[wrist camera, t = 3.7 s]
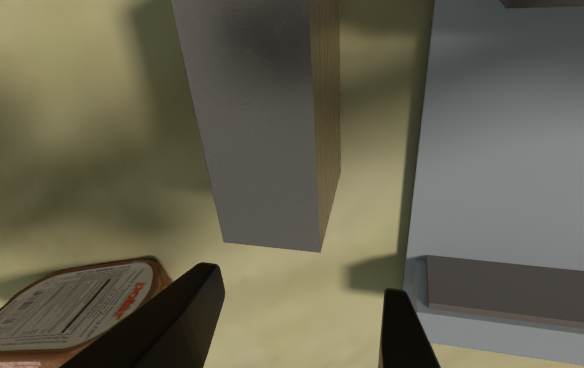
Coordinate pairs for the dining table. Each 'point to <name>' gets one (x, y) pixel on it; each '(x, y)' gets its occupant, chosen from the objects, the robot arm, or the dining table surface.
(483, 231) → the vise body
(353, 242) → the dining table surface
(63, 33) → the dining table surface
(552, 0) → the block
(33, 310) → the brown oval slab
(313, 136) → the steel block
